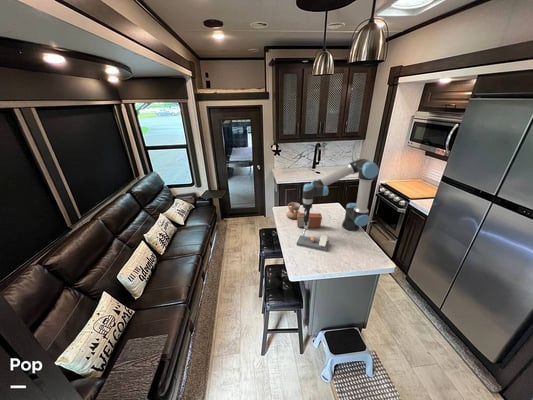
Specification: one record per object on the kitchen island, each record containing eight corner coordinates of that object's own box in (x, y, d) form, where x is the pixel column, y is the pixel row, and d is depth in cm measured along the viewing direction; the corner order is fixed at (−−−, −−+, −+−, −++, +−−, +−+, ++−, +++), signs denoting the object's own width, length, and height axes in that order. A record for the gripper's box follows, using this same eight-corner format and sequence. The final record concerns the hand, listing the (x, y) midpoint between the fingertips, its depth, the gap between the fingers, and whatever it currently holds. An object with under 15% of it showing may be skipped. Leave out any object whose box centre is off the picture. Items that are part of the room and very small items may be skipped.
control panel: (319, 224, 206) (321, 211, 198) (320, 229, 200) (322, 216, 192) (296, 223, 208) (297, 211, 200) (297, 228, 202) (297, 216, 194)
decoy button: (315, 239, 176) (316, 237, 176) (315, 241, 173) (315, 239, 172) (311, 238, 178) (311, 236, 177) (310, 240, 174) (310, 238, 174)
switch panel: (328, 243, 178) (329, 239, 176) (326, 251, 168) (327, 247, 166) (300, 237, 186) (300, 233, 185) (296, 245, 176) (296, 240, 175)
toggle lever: (304, 238, 179) (306, 229, 179) (304, 238, 177) (305, 229, 177) (302, 238, 180) (303, 228, 180) (301, 238, 178) (303, 228, 178)
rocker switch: (327, 236, 175) (327, 235, 175) (325, 247, 168) (325, 246, 167) (321, 235, 177) (321, 234, 176) (318, 245, 169) (318, 244, 169)
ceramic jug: (285, 213, 230) (286, 201, 225) (299, 213, 230) (300, 201, 224) (287, 221, 214) (287, 208, 208) (301, 221, 213) (302, 208, 208)
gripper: (304, 199, 182) (303, 223, 191) (301, 205, 171) (299, 231, 180) (313, 200, 179) (312, 225, 188) (310, 206, 168) (308, 232, 177)
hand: (306, 228), depth 184 cm, fingers closed
